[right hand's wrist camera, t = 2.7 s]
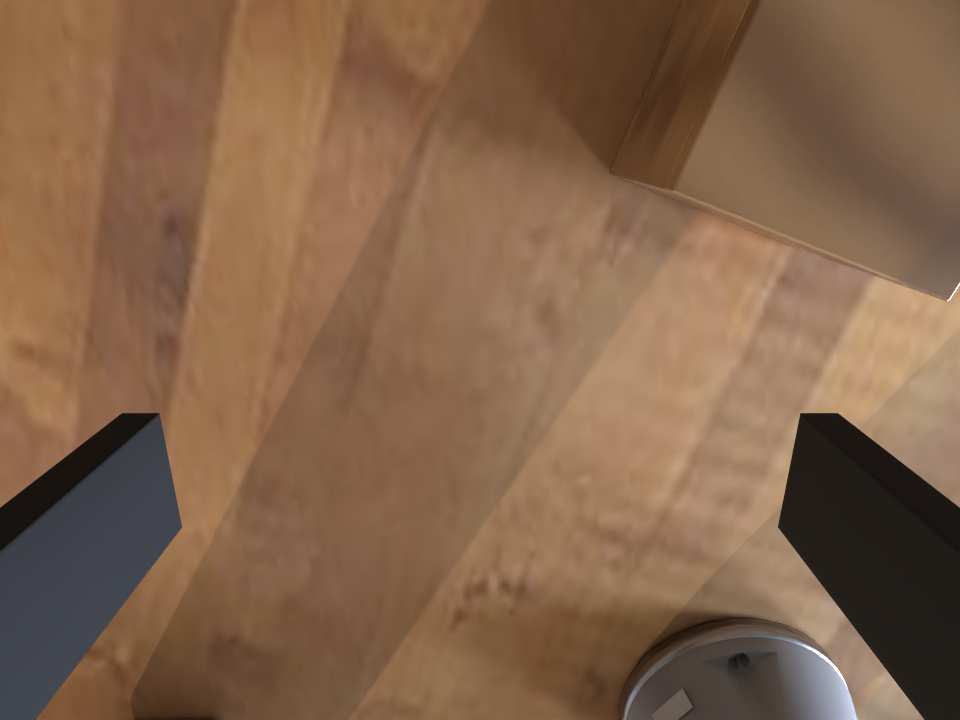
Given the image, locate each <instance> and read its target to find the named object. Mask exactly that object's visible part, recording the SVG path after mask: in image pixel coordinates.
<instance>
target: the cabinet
mask: <svg viewBox="0 0 960 720" xmlns="http://www.w3.org/2000/svg"><path fill="white" fill-rule="evenodd" d="M610 174H611V175H613V176H616V177H618V178H621V179H624V180H626V181H629V182H631V183H634V184H636V185H639V186H641V187H644V188H646V189H649V190H651V191H654V192H656V193H659V194H661V195H664V196H666V197H669V198H671V199H674V200H676V201H679V202H682V203H684V204H687V205H689V206H692V207H694V208H697V209H699V210H702V211H704V212H707V213H709V214H712V215H714V216H717V217H719V218H722V219H724V220H727V221H729V222H732V223H735V224H737V225H740V226H742V227H745V228H747V229H750V230H752V231H755V232H757V233H760V234H762V235H765V236H767V237H770V238H772V239H775V240H777V241H780V242H782V243H785V244H787V245H790V246H793V247H795V248H798V249H800V250H803V251H806V252H808V253H811V254H814V255H817V256H820V257H822V258H825V259H828V260H831V261H834V262H837V263H839V264H842V265H845V266H848V267H851V268H854V269H856V270H859V271H862V272H865V273H868V274H871V275H873V276H876V277H879V278H882V279H885V280H888V281H890V282H893V283H896V284H899V285H902V286H905V287H907V288H910V289H913V290H916V291H919V292H922V293H924V294H928V295H930V296H933V297H936V298H939V299H941V300H944V301H949V300H950V299H951V297H952V296H953V294H954V293H955V291H956V290H957V288H958V286H959V285H960V0H683V1H682V3H681V5H680V8H679V10H678V12H677V15H676V17H675V20H674V22H673V24H672V27H671V29H670V31H669V34H668V36H667V38H666V41H665V43H664V46H663V48H662V50H661V53H660V55H659V57H658V60H657V62H656V64H655V67H654V69H653V72H652V74H651V76H650V79H649V81H648V83H647V86H646V88H645V90H644V93H643V95H642V97H641V100H640V102H639V105H638V107H637V109H636V112H635V114H634V116H633V119H632V121H631V123H630V126H629V128H628V131H627V133H626V135H625V138H624V140H623V142H622V145H621V147H620V149H619V152H618V154H617V157H616V159H615V161H614V164H613V166H612V168H611V171H610Z"/></svg>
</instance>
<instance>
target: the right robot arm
mask: <svg viewBox="0 0 960 720" xmlns="http://www.w3.org/2000/svg"><path fill="white" fill-rule="evenodd" d="M181 528H182V525H181V520H180V515H179V510H178V505H177V500H176V495H175V490H174V485H173V479H172V474H171V469H170V464H169V459H168V454H167V449H166V444H165V439H164V434H163V429H162V424H161V419H160V414H159V413H122V414H121V415H119V416H118V417H117V418H115V419H114V420H113V421H112V422H110V423H109V424H108V425H106V426H105V427H104V428H102V429H101V430H100V431H99V432H97V433H96V434H95V435H93V436H92V437H91V438H90V439H88V440H87V441H86V442H84V443H83V444H82V445H81V446H79V447H78V448H77V449H75V450H74V451H73V452H72V453H70V454H69V455H68V456H66V457H65V458H64V459H63V460H61V461H60V462H59V463H57V464H56V465H55V466H54V467H52V468H51V469H50V470H48V471H47V472H46V473H45V474H43V475H42V476H41V477H39V478H38V479H37V480H35V481H34V482H33V483H32V484H30V485H29V486H28V487H26V488H25V489H24V490H23V491H21V492H20V493H19V494H17V495H16V496H15V497H14V498H12V499H11V500H10V501H8V502H7V503H6V504H5V505H3V506H2V507H1V508H0V720H36V718H37V717H38V716H39V714H40V713H41V712H42V710H43V709H44V708H45V706H46V705H47V704H48V703H49V701H50V700H51V699H52V697H53V696H54V695H55V693H56V692H57V691H58V689H59V688H60V687H61V685H62V684H63V683H64V681H65V680H66V679H67V678H68V676H69V675H70V674H71V672H72V671H73V670H74V668H75V667H76V666H77V664H78V663H79V662H80V660H81V659H82V658H83V657H84V655H85V654H86V653H87V651H88V650H89V649H90V647H91V646H92V645H93V643H94V642H95V641H96V639H97V638H98V637H99V635H100V634H101V633H102V632H103V630H104V629H105V628H106V626H107V625H108V624H109V622H110V621H111V620H112V618H113V617H114V616H115V614H116V613H117V612H118V611H119V609H120V608H121V607H122V605H123V604H124V603H125V601H126V600H127V599H128V597H129V596H130V595H131V593H132V592H133V591H134V590H135V588H136V587H137V586H138V584H139V583H140V582H141V580H142V579H143V578H144V576H145V575H146V574H147V572H148V571H149V570H150V568H151V567H152V566H153V565H154V563H155V562H156V561H157V559H158V558H159V557H160V555H161V554H162V553H163V551H164V550H165V549H166V547H167V546H168V545H169V544H170V542H171V541H172V540H173V538H174V537H175V536H176V534H177V533H178V532H179V530H180V529H181ZM778 528H779V529H780V530H781V532H782V533H783V534H784V536H785V537H786V538H787V540H788V541H789V542H790V544H791V545H792V546H793V547H794V549H795V550H796V551H797V553H798V554H799V555H800V557H801V558H802V559H803V561H804V562H805V563H806V565H807V566H808V567H809V568H810V570H811V571H812V572H813V574H814V575H815V576H816V578H817V579H818V580H819V582H820V583H821V584H822V586H823V587H824V588H825V590H826V591H827V592H828V593H829V595H830V596H831V597H832V599H833V600H834V601H835V603H836V604H837V605H838V607H839V608H840V609H841V611H842V612H843V613H844V614H845V616H846V617H847V618H848V620H849V621H850V622H851V624H852V625H853V626H854V628H855V629H856V630H857V632H858V633H859V634H860V635H861V637H862V638H863V639H864V641H865V642H866V643H867V645H868V646H869V647H870V649H871V650H872V651H873V653H874V654H875V655H876V657H877V658H878V659H879V660H880V662H881V663H882V664H883V666H884V667H885V668H886V670H887V671H888V672H889V674H890V675H891V676H892V678H893V679H894V680H895V681H896V683H897V684H898V685H899V687H900V688H901V689H902V691H903V692H904V693H905V695H906V696H907V697H908V699H909V700H910V701H911V702H912V704H913V705H914V706H915V708H916V709H917V710H918V712H919V713H920V714H921V716H922V717H923V718H924V720H960V508H959V507H958V506H957V505H955V504H954V503H953V502H952V501H950V500H949V499H948V498H946V497H945V496H944V495H943V494H941V493H940V492H939V491H937V490H936V489H935V488H934V487H932V486H931V485H930V484H928V483H927V482H926V481H925V480H923V479H922V478H921V477H919V476H918V475H917V474H915V473H914V472H913V471H912V470H910V469H909V468H908V467H906V466H905V465H904V464H903V463H901V462H900V461H899V460H897V459H896V458H895V457H894V456H892V455H891V454H890V453H888V452H887V451H886V450H885V449H883V448H882V447H881V446H879V445H878V444H877V443H876V442H874V441H873V440H872V439H870V438H869V437H868V436H867V435H865V434H864V433H863V432H861V431H860V430H859V429H858V428H856V427H855V426H854V425H852V424H851V423H850V422H848V421H847V420H846V419H845V418H843V417H842V416H841V415H839V414H838V413H801V414H800V419H799V424H798V429H797V434H796V439H795V444H794V449H793V454H792V459H791V464H790V469H789V474H788V479H787V485H786V490H785V495H784V500H783V505H782V510H781V515H780V520H779V525H778ZM619 717H620V720H857V717H856V714H855V710H854V706H853V702H852V698H851V696H850V693H849V691H848V688H847V685H846V683H845V681H844V679H843V677H842V676H841V674H840V673H839V671H838V670H837V668H836V667H835V665H834V664H833V662H832V661H831V659H830V658H829V656H828V655H827V653H826V652H825V651H824V650H823V649H822V647H821V646H820V645H818V644H817V643H816V642H815V641H814V640H813V639H811V638H810V637H808V636H807V635H805V634H804V633H802V632H800V631H798V630H796V629H794V628H791V627H789V626H786V625H783V624H780V623H776V622H771V621H766V620H759V619H730V620H721V621H716V622H711V623H707V624H703V625H699V626H696V627H693V628H691V629H688V630H686V631H683V632H681V633H679V634H677V635H675V636H673V637H671V638H669V639H668V640H666V641H664V642H663V643H661V644H660V645H658V646H657V647H656V648H654V649H653V650H652V651H651V652H650V653H649V654H647V655H646V656H645V657H644V658H643V659H642V660H641V661H640V662H639V664H638V665H637V666H636V667H635V669H634V670H633V671H632V673H631V675H630V676H629V678H628V679H627V682H626V684H625V686H624V688H623V691H622V694H621V699H620V705H619Z"/></svg>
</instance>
